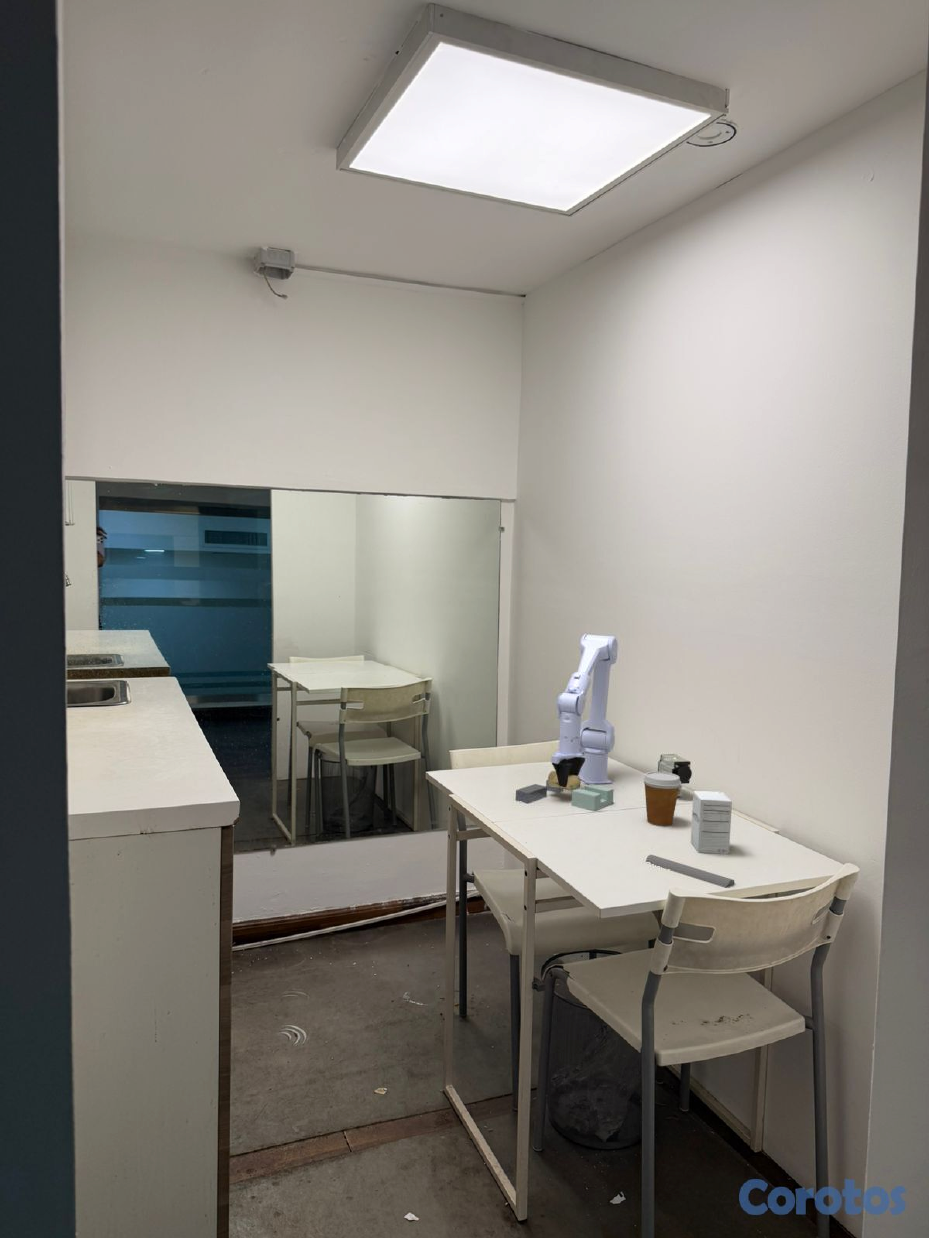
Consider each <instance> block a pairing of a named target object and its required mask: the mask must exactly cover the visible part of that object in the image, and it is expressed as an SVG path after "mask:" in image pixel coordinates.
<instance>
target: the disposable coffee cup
mask: <svg viewBox="0 0 929 1238" xmlns="http://www.w3.org/2000/svg"><path fill="white" fill-rule="evenodd" d="M642 781H643V783H644V793H645V795H644V796H645V809H646V820H647V822H648V823H649V824H651V825H655V826H660V825H661V826H662V827H663V826H671V825H673V821H674V816H675V810H676V807H677V806H676V804H677V801H678V797H677V795H678V790H679V787H680V785H682V784H681V781H680V777H679V776H677V775H675V774H672V773H667V772H658V771H649V772H646V773H645V774H644V777H643V778H642Z"/></svg>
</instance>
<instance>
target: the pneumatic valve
mask: <svg viewBox="0 0 929 1238" xmlns="http://www.w3.org/2000/svg"><path fill="white" fill-rule="evenodd" d="M657 772H667V773H672V774H675V775H677V776H679V777H680V781H681V784H680V787H679V790H678V795H677V798H681V797H682V793H683V791H682V788H683V786H682V784H683V785H684V784H685V785H687V784H690V780H691V778H692V775H693V770H692V769H691V761H690V760H689V759H686V758H683V757H681V756H680V755H678V754H677V753H673V754H660V758H659V760H658V762H657ZM678 796H679V797H678Z"/></svg>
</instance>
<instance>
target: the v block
mask: <svg viewBox="0 0 929 1238" xmlns="http://www.w3.org/2000/svg"><path fill="white" fill-rule="evenodd" d="M612 803H613V804H614V788H611V787H606V786H603V785H599V784H586V785H585V787H584V789H582V788H579V789H576V790H573V791H571V806H572V807H577V808H581V809H584V810H589V811H593V812H596V811H598V810H601V809H602V808H605V807H607V805H608V806H610V805H612ZM609 804H610V805H609Z"/></svg>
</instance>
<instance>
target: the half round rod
mask: <svg viewBox="0 0 929 1238" xmlns="http://www.w3.org/2000/svg"><path fill="white" fill-rule="evenodd" d="M646 862H650V863H651V864H650V865H652V864H654V865H653V866H655V865H656V867H658V866H660V867H659V868H661V867H662V869H665V870H668V869H670V870H669V871H672V872H674V873H678V874H679V875H684V876H687V877H689V878H690V877H691V878H694V879H697V880H700V881H703V882H707V883H709V884H713V885H716V886H719V887H722V888H727V887H728V888H729V886H731V885H733V884H735V880H734V879H732V878H729V877H725V876H722V875H719V874H715V873H713V872H709V871H706V870H702V869H700V868H696V867H693V866H690V865H687V864H683V863H680V862H677V861H673V860H670V859H667V858H665V857H660V856H657V855H654V854H649V855H647V857H646V859H645V863H646Z"/></svg>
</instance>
